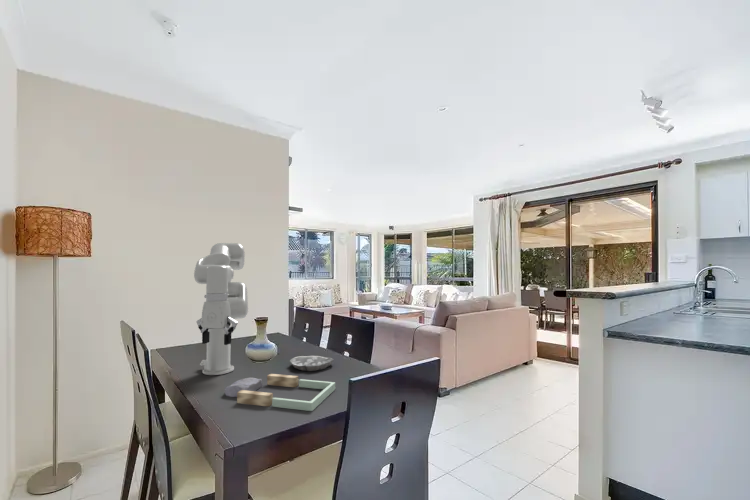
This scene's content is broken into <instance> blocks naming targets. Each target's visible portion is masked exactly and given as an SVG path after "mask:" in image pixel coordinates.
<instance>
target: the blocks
mask: <svg viewBox="0 0 750 500" xmlns="http://www.w3.org/2000/svg"><path fill="white" fill-rule="evenodd" d="M299 380H300V379H299V375H291V374H290V375H288V374H280V373H279V374H278V373H270V374H267V377H266V382H267V383H266V385H267V386H277V387H287V388H297V387H299ZM273 398H274V393H273V392H266V391H265V392H264V391H258V390H256V391H247V390H241V391H239V392H237V397H236V402H237V404H242V405H251V406H260V407H261V406H262V407H271V406H272V399H273Z"/></svg>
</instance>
